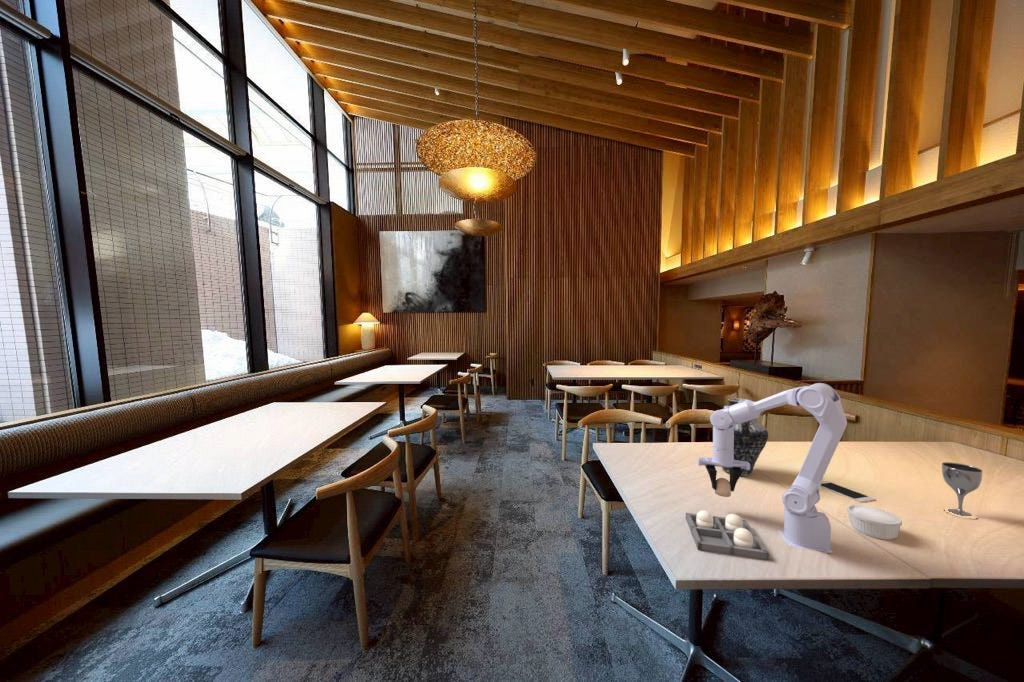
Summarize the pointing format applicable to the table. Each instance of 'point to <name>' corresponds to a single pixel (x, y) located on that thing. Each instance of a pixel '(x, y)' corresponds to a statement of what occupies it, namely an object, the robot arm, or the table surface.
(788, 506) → the robot arm
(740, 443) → the jug
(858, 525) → the ramekin
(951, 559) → the table surface
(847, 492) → the smartphone
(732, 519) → the cream egg
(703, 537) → the egg tray
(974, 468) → the wine glass
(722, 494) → the tan egg
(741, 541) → the cream egg
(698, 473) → the table surface
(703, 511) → the cream egg
